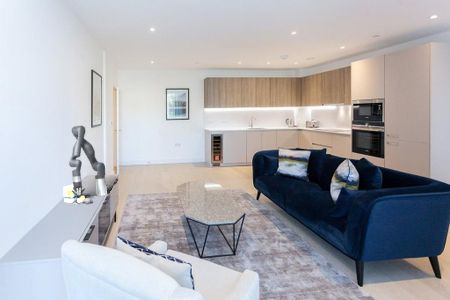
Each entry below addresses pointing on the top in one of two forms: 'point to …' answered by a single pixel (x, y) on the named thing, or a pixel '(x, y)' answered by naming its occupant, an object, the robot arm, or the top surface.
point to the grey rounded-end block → (87, 200)
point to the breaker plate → (79, 202)
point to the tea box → (69, 194)
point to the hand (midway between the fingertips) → (78, 199)
